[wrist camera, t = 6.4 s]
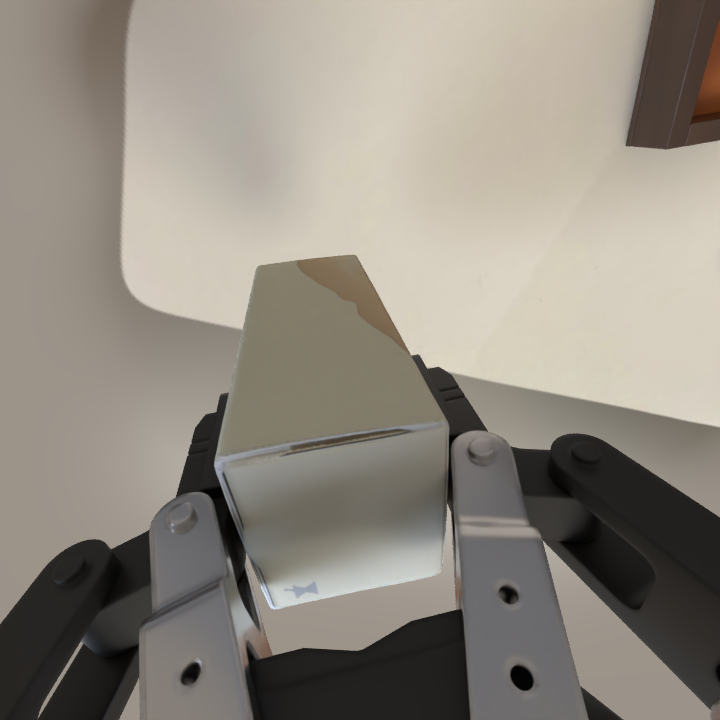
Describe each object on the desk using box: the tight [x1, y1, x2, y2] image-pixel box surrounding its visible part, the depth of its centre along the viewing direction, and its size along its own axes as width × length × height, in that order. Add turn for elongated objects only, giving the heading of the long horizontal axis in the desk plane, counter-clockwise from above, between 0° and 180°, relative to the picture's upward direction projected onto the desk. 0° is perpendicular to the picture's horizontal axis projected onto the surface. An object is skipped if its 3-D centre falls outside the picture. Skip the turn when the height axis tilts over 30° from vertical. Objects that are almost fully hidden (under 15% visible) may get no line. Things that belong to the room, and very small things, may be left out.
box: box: [214, 255, 449, 609], centre depth 13 cm, size 5×4×11 cm
